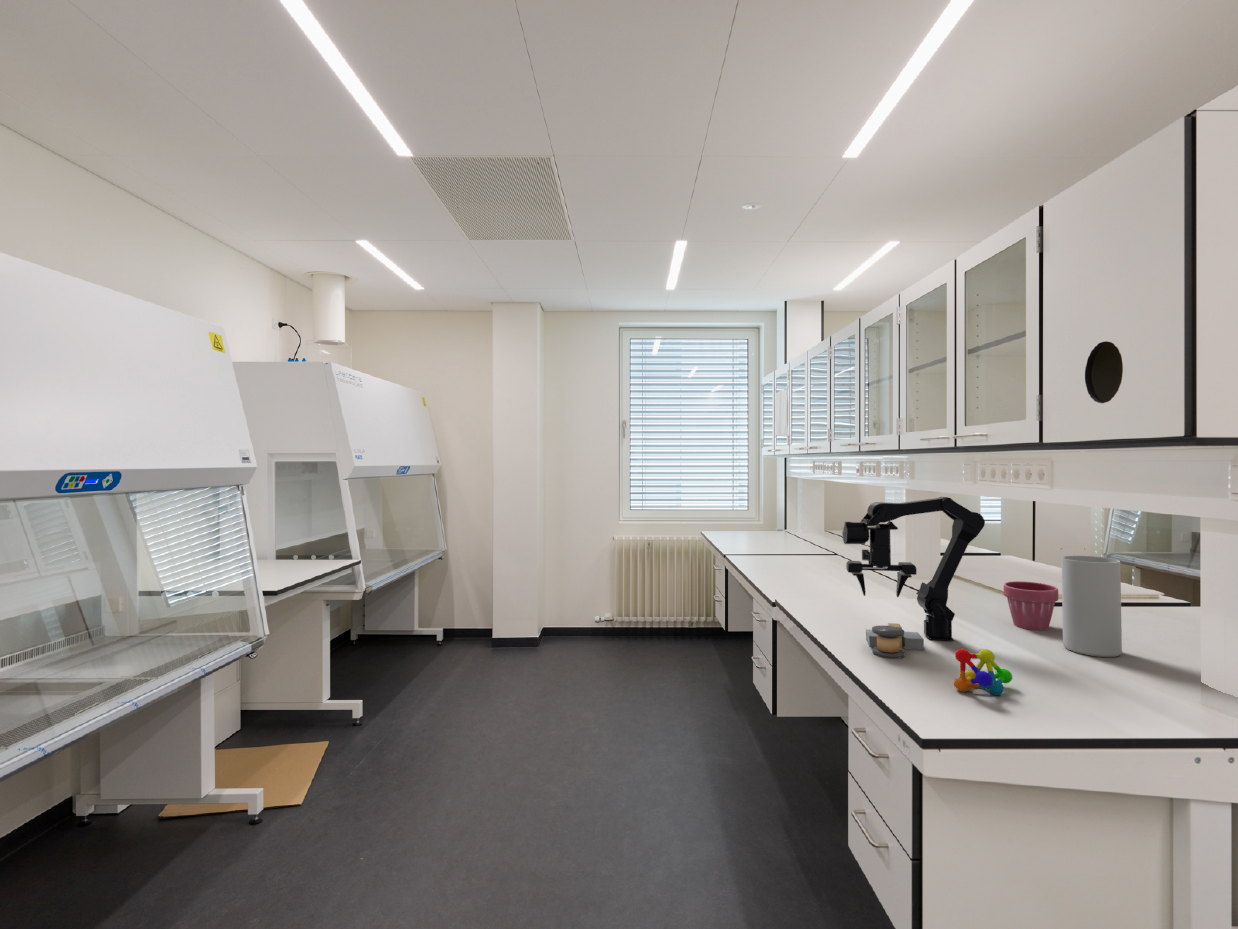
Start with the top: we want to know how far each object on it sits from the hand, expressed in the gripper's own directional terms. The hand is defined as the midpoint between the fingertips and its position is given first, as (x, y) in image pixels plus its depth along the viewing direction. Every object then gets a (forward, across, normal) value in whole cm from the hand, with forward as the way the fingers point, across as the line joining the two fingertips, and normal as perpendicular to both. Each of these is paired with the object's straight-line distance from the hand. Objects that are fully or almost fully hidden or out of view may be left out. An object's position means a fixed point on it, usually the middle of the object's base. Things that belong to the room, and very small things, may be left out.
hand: (880, 596), depth 176 cm
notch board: (+12, -2, +8) cm, 15 cm away
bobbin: (+12, +1, +17) cm, 21 cm away
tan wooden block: (+12, -2, +10) cm, 16 cm away
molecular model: (+12, -15, +40) cm, 44 cm away
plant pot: (+12, -47, -21) cm, 53 cm away
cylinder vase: (+12, -53, +2) cm, 54 cm away
